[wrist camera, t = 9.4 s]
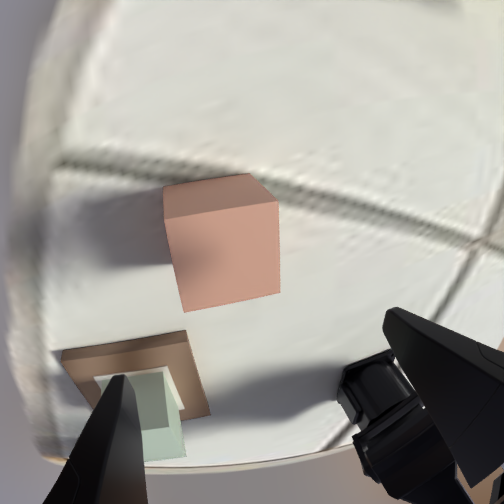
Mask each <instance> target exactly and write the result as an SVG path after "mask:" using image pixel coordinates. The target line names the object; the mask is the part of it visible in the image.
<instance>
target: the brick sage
mask: <svg viewBox="0 0 504 504" xmlns="http://www.w3.org/2000/svg"><path fill="white" fill-rule="evenodd" d="M127 378H128V379H129V381H130V383H131V385H132V387H133V389H134V391H135V395H136V402H137V408H138V415H139V421H140V427H141V433H142V442H143V457H144V462H148V461H157V460H165V459H173V458H180V457H186V450H185V445H184V439H183V433H182V427H181V421H180V415H179V408H178V405H177V403H176V401H175V398H174V396H173V394H172V392H171V389H170V387H169V385H168V382H167V380H166V377H165V375H164V373H163V371H162V372H156V373H150V374H144V375H137V376H130V377H127ZM109 381H110V379H108V380H102V388H101V396H102V394H103V392H104V390H105V388H106V387H107V385H108V383H109Z"/></svg>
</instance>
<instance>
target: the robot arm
mask: <svg viewBox="0 0 504 504" xmlns="http://www.w3.org/2000/svg"><path fill="white" fill-rule="evenodd" d="M382 329H383V333H384V335H385V337H386V339H387V341H388V343H389V345H390V347H391V349H392V350H390V351H387V352H385V353H382V354H380V355H377V356H375V357H372V358H370V359H367V360H364V361H362V362H359V363H356V364H354V365H351V366H348V367H346V368H345V369H344V371H343V375H342V380H341V384H340V387H339V392H338V396H337V402H338V403H339V404H341V406H342V407H343V409H344V411H345V413H346V414H347V416H348V418H349V420H350V421H351V423H352V424H354V425H355V424H357V425H358V426H359V428H360V430H361V432H359V433H358V434H355V435H353V436H352V438H353V442H352V443H353V444H354V446H355V449H356V451H357V453H358V456H359V458H360V461H361V465H362V469H363V473H364V475H366V476H368V477H371V478H372V479H373V480H374V481H375V482H376V483H378V484H379V483H382V485H383V486H384V488H385V490H386V491H387V493H388V495H389V496H391V497H393V498H395V499H397V500H399V499H402V500H404V501H407V502H409V503H412V504H474V502H473V500H472V499H471V498H470V496H469V494H468V493H467V491H466V490H465V488H464V487H463V485H462V484H461V482H460V481H459V479H458V478H457V464H458V466H459V468H460V469H461V471H462V473H463V475H464V477H465V479H466V481H467V483H468V485H469V486H470V488H473V487H474V486H475V485H477V484H478V483H479V482H481V481H482V480H483V479H485V478H486V477H487V476H489V475H490V474H491V473H492V472H494V471H495V470H496V469H497V468H498V467H500V466H501V467H502V468H503V470H504V352H502V351H499V350H496V349H494V348H491V347H489V346H486V345H484V344H482V343H480V342H476V341H475V340H473V339H470V338H468V337H466V336H463V335H461V334H459V333H457V332H454V331H452V330H450V329H447V328H445V327H443V326H441V325H438V324H436V323H434V322H431V321H429V320H427V319H424V318H422V317H420V316H418V315H415V314H413V313H411V312H408V311H406V310H404V309H401V308H399V307H394V308H391V309H388V310H387V311H386V314H385V318H384V322H383V326H382ZM395 357H396V359H397V361H398V363H399V365H400V366H401V368H402V370H403V371H404V373H405V375H406V376H407V378H408V379H409V381H410V383H411V384H412V386H413V387H412V386H411V385H410V383H409V382H408V381H407V379H406V378H405V377H404V375H403V374H402V373H401V371H400V370H399V369H398V368H397V366H396V365H395V364H394V359H395ZM413 388H414V389H415V390H414V389H413ZM423 406H425V408H424V409H423V408H422V407H423ZM43 504H148V499H147V491H146V482H145V470H144V457H143V442H142V433H141V427H140V421H139V415H138V408H137V402H136V395H135V391H134V389H133V387H132V385H131V383H130V381H129V379H128V378H127V376H126V375H125V374H118V375H114V376H112V378H111V379H110V381H109V383H108V385H107V387H106V388H105V390H104V392H103V394H102V396H101V397H100V399H99V401H98V403H97V405H96V407H95V408H94V410H93V412H92V414H91V416H90V418H89V419H88V421H87V423H86V425H85V427H84V429H83V431H82V433H81V435H80V437H79V438H78V440H77V442H76V444H75V446H74V448H73V450H72V452H71V454H70V456H69V459H68V460H67V462H66V464H65V466H64V468H63V470H62V472H61V474H60V476H59V477H58V479H57V481H56V483H55V484H54V486H53V488H52V489H51V491H50V492H49V494H48V496H47V498H46V499H45V500H44V502H43ZM490 504H504V472H503V473H502V474H500V476H498V477H497V478H496V479H495V480H494V482H493V488H492V493H491V499H490Z"/></svg>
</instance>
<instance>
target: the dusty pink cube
mask: <svg viewBox="0 0 504 504" xmlns="http://www.w3.org/2000/svg"><path fill="white" fill-rule="evenodd" d="M163 208H164V223H165V228H166V233H167V238H168V243H169V248H170V253H171V258H172V263H173V267H174V272H175V276H176V281H177V285H178V290H179V294H180V298H181V303H182V307H183V311H184V313H185V312H190V311H196V310H201V309H206V308H211V307H216V306H221V305H226V304H230V303H235V302H240V301H245V300H249V299H254V298H259V297H263V296H268V295H272V294H277V293H280V243H279V202H278V200H277V199H276V198H275V197H274V196H273V195H272V194H271V193H270V192H269V191H268V190H267V189H266V188H265V187H263V186H262V185H261V184H260V183H259V182H258V181H257V180H256V179H255V178H254V177H253V176H252V175H251V174H250V173H249V174H241V175H234V176H227V177H220V178H213V179H207V180H200V181H194V182H188V183H182V184H176V185H170V186H165V187H163Z"/></svg>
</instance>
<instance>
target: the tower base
mask: <svg viewBox="0 0 504 504" xmlns="http://www.w3.org/2000/svg"><path fill="white" fill-rule="evenodd" d="M61 363H62V365H63V366H64V368H65V369H66V371H67V372H68V374H69V375H70V377H71V378H72V380H73V381H74V383H75V384H76V386H77V387H78V389H79V390H80V392H81V393H82V394H83V396H84V397H85V399H86V400H87V401H88V403H89V404H90V405H91V407H92V408H93V409H94V408H95V407H96V405H97V403H98V401H99V399H100V397H101V388H102V380H108V379H111V378H112V376H114V375H118V374H125V375H126V376H127V377H130V376H137V375H144V374H150V373H156V372H162V371H163V373H164V375H165V377H166V380H167V382H168V385H169V387H170V389H171V392H172V394H173V396H174V398H175V401H176V403H177V405H178V408H179V415H180V421H183V420H188V419H194V418H199V417H204V416H209V415H211V414H210V410H209V406H208V402H207V399H206V396H205V393H204V390H203V387H202V384H201V380H200V377H199V374H198V370H197V367H196V364H195V360H194V357H193V354H192V350H191V347H190V343H189V339H188V336H187V332H186V330H184V331H179V332H174V333H169V334H163V335H158V336H152V337H147V338H141V339H135V340H129V341H123V342H117V343H110V344H104V345H97V346H91V347H84V348H76V349H69V350H63V352H62V357H61Z"/></svg>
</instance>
